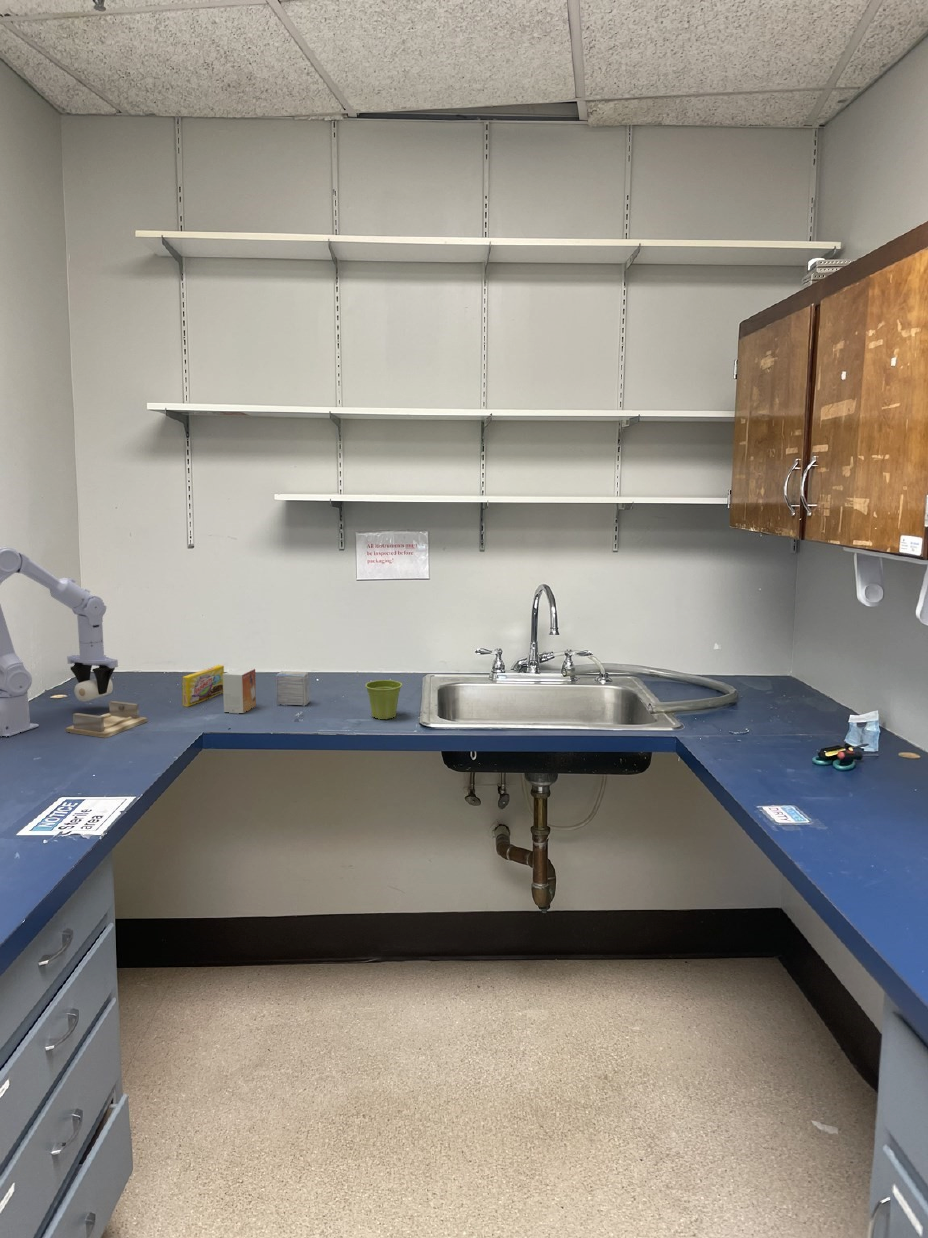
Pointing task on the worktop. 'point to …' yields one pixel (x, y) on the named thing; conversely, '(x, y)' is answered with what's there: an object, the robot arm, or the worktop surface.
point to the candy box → (202, 685)
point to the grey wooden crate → (292, 688)
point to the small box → (239, 690)
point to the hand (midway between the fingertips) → (94, 692)
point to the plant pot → (383, 698)
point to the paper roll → (90, 690)
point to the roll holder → (107, 720)
